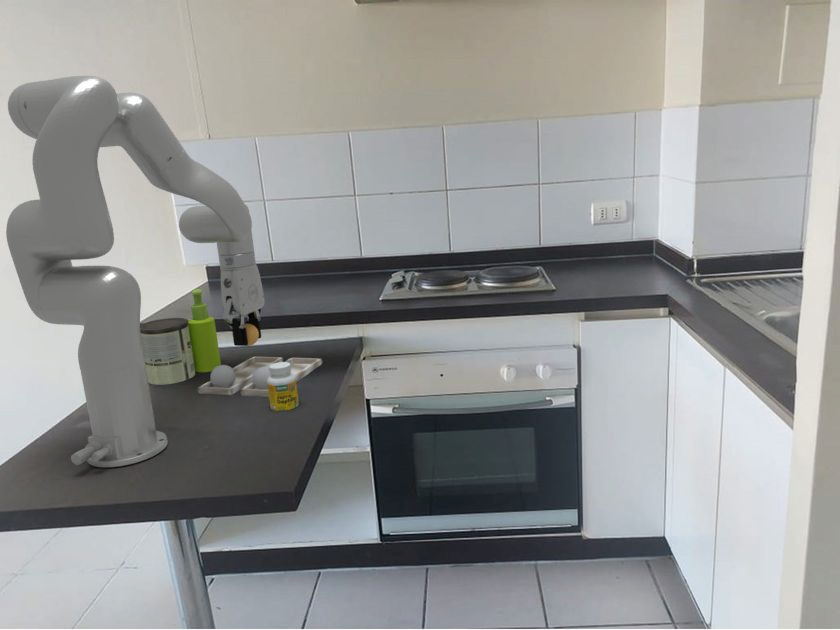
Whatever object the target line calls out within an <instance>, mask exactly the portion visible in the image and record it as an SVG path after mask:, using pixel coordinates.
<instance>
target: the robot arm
mask: <svg viewBox="0 0 840 630" xmlns="http://www.w3.org/2000/svg"><path fill="white" fill-rule="evenodd" d="M7 101H8V102H7V110H8V115H9V118H10V120H11V121H12V123H13V124H14V126H16V128H17V129H18V130H19V131H21V132H22V133H23V134H25V135H26V136H27V137H30V138H32V139H34V140H36V141H35V143H34V146H33V151H32V170H33V174H34V179H35V182H36V183H35V184H36V189H37V191H38V197H39V199H32V200H28V201H24V202H22V203H20V204H18V205H17V206H16V207H15V208H13V210H12V211H11V212H10V214H9V216H8V218H7V221H6V232H5V234H6V242H7V247H8V249H9V253H10V256H11V258H12V261H13V265H14V268H15V271H16V274H17V278H18V279H19V283H20V286H21V290H22V292H23V294H24V298H25V300H26V302H27V305H28V307H29V308H30V310H31V311H32V313H33V315H35V316H36V317H37V319H39V320H40V321H43V322H45V323H46V324H47V323H48V324H52V325H63V326H64V325H65V326H67V325H70V326H83V330H82V331H83V332H82V335H81V338H80V341H79V344H78V349H77V358H78V359H77V361H78V365H79V369H80V370H79V371H80V376H81V380H82V385H83V391H84V396H85V402H86V406H87V407H86V408H87V412H88V418H89V422H90V428H91V433H92V434H91V435H90V436H87V441H88V443H87V444H86V445H85V447H84V448H82V449H80V450H78V451H76V452H74V453H72V454H71V456H70V460H71V462H72V463H73V464H74V465H76V466H79V465H81V464H83V463H84V462H86V463H88V465H91V466H93V467H97V468H117V467H124V466H128V465H133V464H137V463H140V462H143V461H145V460H147V459H148V460H149V459H151V458H153V457H154V456H156V455H159V454H160V453H161V452H162V451H163V450H165V448H166V447H167V445H168V442H169V441H168V436H167V434H165V433H164V432H162V431H160V430H157V427H156V423H155V415H154V410H153V405H152V397H151V392H150V385H149V383H148V379H147V372H146V366H145V360H144V355H143V349H142V341H141V332H140V325H141V308H142V307H141V305H142V302H141V300H142V295H141V294H142V293H141V288H140V285H139V283H138V281H137V280H136V278H135V277H134V276H133V275H132V274H131V273H129V272H128V271H127V270H124V269H123V268H120V267H115V266H111V265H78V266H75V265H74V266H73V264H72V260H73V261H76V260H78V261H81V260H92V259H97V258H100V257H103V256H105V255H107V254H108V253H109V252H110V251H112V249H113V246H114V242H115V236H114V235H115V234H114V227H113V223H112V219H111V216H110V210H109V208H108V205H107V204H108V203H107V200H106V196H105V193H104V189H103V185H102V182H101V177H100V170H99V164H98V160H99V159H98V158H99V157H98V156H99V151H100V148H108V147H110V148H111V147H121V148H122V149H123V150H124V151H125V152H126V154H127V155H128V156H129V157H130V159H132V161H133V162H134V163H135V164H136V166H137V167H138V169H139V170H140V171H141V173H142V174H143V176H144V177H146V180H148V182H149V183H150V184H151V185H152V186H153V187H156V188H158V189H160V190H162V191H164V192H167V193H170V194H173V195H177V196H180V197H183V198H187V199H190V200H193V201H195V202H198V203H200V204H202V205H196V206H192V207H189V208H186V210H184V211H183V213H182V214H181V215H180V218H179V221H178V228H179V231H180V233H181V235H182V237H184V238H185V239H186V240H188V241H190V242H192V243H196V244H216V247H217V248H216V249H217V255H218V261H219V268H220V270H219V271H220V293H221V301H222V309H223V314H222V319H223V321H225V322H227V324H228V325H229V328H230V329H231V331H232V339H233V340H232V341H233V345H234V346H237V347H239V346H241V347H248V346H247V345H248V339H247V332H246V328H244V324H252V325H254V326H255V327H256V328H257V330H258V332H259V337H258V340H259V339H261V338H262V332H261V323H260V321H261V312H262V308H263V307H264V305H265V304H266V303H265V293H264V288H263V284H262V278H261V274H260V271H259V268H258V265H257V264H256V256H255V255H256V254H255V247H254V239H253V238H254V237H253V230H252V228H253V223H252V222H253V221H252V216H251V214H250V209H249V206H248V205H247V204H245V202H244V200H243V198H242V197H241V196H240V194H239V192H237V189H235V188H234V185H232V184H230V182H228V181H227V180H226V179H225V178H223V177H222V176H220V175H219V174H217V172H214V171H213V170H211V169H209V168H208V167H206V166H205V165H203V164H201V163H200V162H197V161H195V160H194V159H192V157H191V156H190V155H189V154H188V153H187V151H186V150H185V149H184V146H183V145H182V144H181V142H180V141H179V139H178V138H177V137H176V135H175V133H174V132H173V131H172V129H171V128H170V126H169V125H168V123H167V121H166V120H165V119H164V117H163V116H162V115H161V113H160V112H159V111H158V109H157V107H156V106H155V105H154V104H153V102H152V101H151V100H150V99H149V98H148V97H146V96H144V95H143V94H140V93H136V92H120V93H118V92H117V91H116V89H115V88H114V87H113V85H112V84H111V83H110V82H109V81H108V80H106V79H104V78H102V77H99V76H93V75H76V76H65V77H59V78H53V79H46V80H39V81H31V82H25V83H24V84H20V85H18V86H17V87H16V88H14V89H13V90H12V92H11V93H10V95H9V97H8V100H7ZM245 316H246V319H247V320H246V321H245ZM237 318H238V319H237Z"/></svg>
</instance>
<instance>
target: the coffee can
mask: <svg viewBox="0 0 840 630" xmlns="http://www.w3.org/2000/svg"><path fill="white" fill-rule="evenodd" d="M188 321H189V319H188V318H185V317H168V318H162V319H161V318H160V319H154V320H150V321H147V322H144V323H140V332H141V341H142V349H143V355H144V360H145V366H146V372H147V379H148V384H152V385H171V384H177V383H181V382H184V381H187V380H189V379H191V378H193V377H194V376H195V375H196V371H195V367H194V361H193V354H192V348H191V342H190V335H189V328H188Z"/></svg>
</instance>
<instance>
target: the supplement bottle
mask: <svg viewBox="0 0 840 630" xmlns="http://www.w3.org/2000/svg"><path fill="white" fill-rule="evenodd" d="M269 372H270V374H271V376H269V378H268V379H267V385H268V392H269V397H268V399H269V407H270V409H271V410H273V411H276V412H286V411H290V410H292V409H295V408H297V407H298V406H299V405H300V402H299V392H298V385H297V382H296V377H295V375H294V374H293V373H290V372H291V364H290V363H288V362H285V361H283V362H279V363H274V364H271V365H270V366H269Z"/></svg>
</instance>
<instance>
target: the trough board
mask: <svg viewBox="0 0 840 630" xmlns="http://www.w3.org/2000/svg"><path fill="white" fill-rule="evenodd" d="M322 359H323V358H316V357H315V358H311V357H291V358H287V360H285V361H284V357H282V356H281V357H279V356H277V357H276V356H252V357H250V358H248V359H246V360H245V361H243V362H241V363H239V364H237V365H236V366H234V367H231V368H232V369H233V370H234V372H235V381H234V383H233V384H232V385H231V386H230V387H228V388H221V387H215V386H214V385H213V384H212V382H211V379H210V380H208V381H207V382H206V383H203V384H201V385H200V386H198V387H197V392H198V394H204V395H205V394H206V395H221V396H233V395H234V394H236V393H237V392H239V391H240V396H241V397H242V396H245V397H262V398H269V392H268V390H264V389H258V388H257V387H256V386H255V385H254V382H253V375H254V373H255V372H256V370H257V369H259V368H261V367H264V366H268V367H269V366H270V365H271V364H274V363H279V362H288V363H290V364H291V372H290V373H293V374H294V375H295V377H296V383H297V382H299V381H300V380H302V379H303V378H305V377H306V376H307V375H309V374H310V373H312V372H313V371H314V370H316V369H317V368H319V367H320V366H322V364H323V360H322Z"/></svg>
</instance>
